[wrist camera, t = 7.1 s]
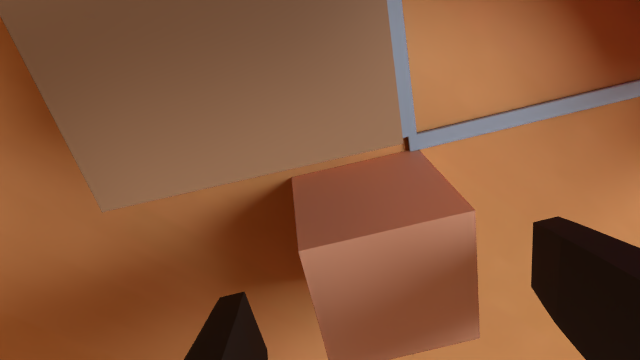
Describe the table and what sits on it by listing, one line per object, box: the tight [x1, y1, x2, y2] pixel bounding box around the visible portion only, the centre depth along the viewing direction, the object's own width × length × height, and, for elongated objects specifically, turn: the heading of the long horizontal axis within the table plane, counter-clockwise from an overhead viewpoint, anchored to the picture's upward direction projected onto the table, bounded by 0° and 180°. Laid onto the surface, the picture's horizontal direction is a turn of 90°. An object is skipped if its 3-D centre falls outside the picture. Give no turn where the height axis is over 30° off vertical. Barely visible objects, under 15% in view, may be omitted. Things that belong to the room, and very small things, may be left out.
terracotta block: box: [292, 150, 480, 360], centre depth 11 cm, size 4×4×4 cm
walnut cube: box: [0, 0, 403, 212], centre depth 8 cm, size 5×5×5 cm
